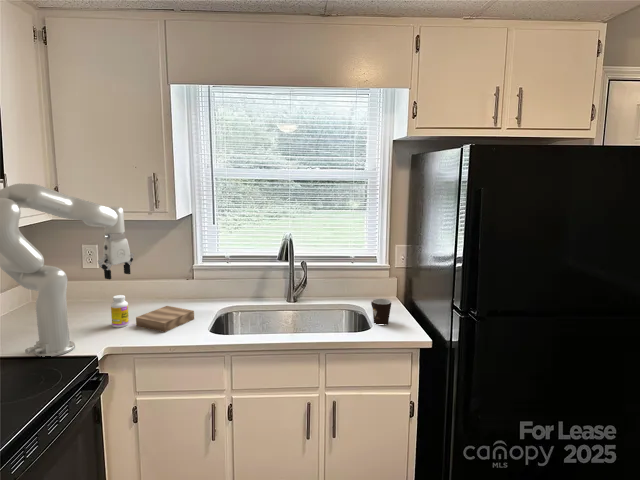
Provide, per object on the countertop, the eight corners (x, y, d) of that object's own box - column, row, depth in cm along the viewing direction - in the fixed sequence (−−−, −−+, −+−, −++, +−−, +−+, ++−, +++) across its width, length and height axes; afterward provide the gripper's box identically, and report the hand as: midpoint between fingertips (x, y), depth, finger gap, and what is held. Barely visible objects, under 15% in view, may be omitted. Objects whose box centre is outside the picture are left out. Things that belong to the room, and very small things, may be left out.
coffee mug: (392, 326, 186) (393, 304, 185) (372, 326, 186) (373, 304, 185) (387, 317, 198) (388, 296, 196) (369, 317, 198) (370, 296, 196)
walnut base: (164, 332, 176) (164, 323, 176) (136, 326, 183) (135, 317, 182) (194, 319, 192) (194, 310, 192) (167, 313, 199) (166, 305, 198)
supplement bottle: (122, 328, 180) (120, 299, 178) (108, 327, 181) (106, 298, 179) (132, 323, 186) (130, 294, 184) (119, 322, 188) (117, 293, 186)
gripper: (103, 240, 168) (106, 282, 171) (138, 234, 184) (140, 273, 187) (90, 238, 171) (93, 280, 174) (125, 233, 187) (128, 271, 190)
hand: (117, 276), depth 180 cm, fingers open, 9 cm apart
